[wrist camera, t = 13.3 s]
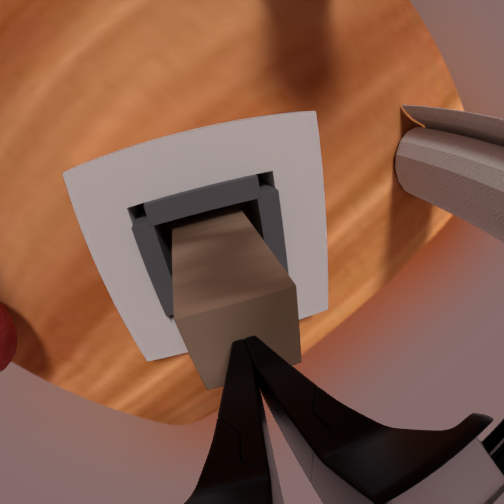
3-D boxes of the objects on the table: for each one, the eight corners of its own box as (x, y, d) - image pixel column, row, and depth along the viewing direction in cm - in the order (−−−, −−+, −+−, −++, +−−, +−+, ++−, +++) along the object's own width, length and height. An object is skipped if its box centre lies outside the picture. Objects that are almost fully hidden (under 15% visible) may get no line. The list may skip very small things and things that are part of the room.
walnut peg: (188, 269, 19) (207, 390, 10) (172, 215, 17) (174, 319, 8) (244, 254, 19) (301, 362, 11) (234, 200, 18) (296, 285, 9)
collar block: (148, 338, 20) (147, 366, 18) (77, 165, 14) (58, 174, 11) (314, 291, 23) (330, 313, 20) (297, 111, 16) (320, 110, 13)
